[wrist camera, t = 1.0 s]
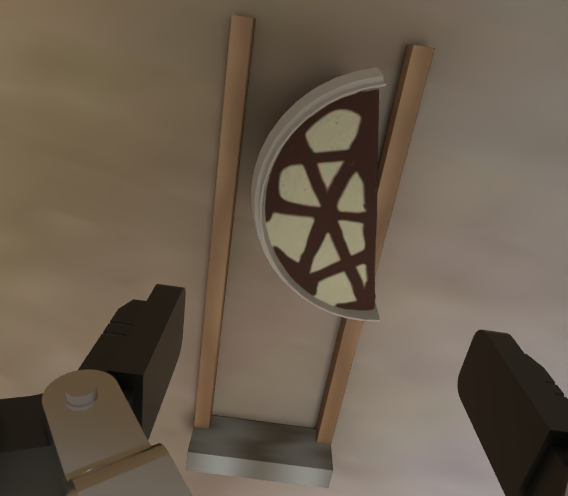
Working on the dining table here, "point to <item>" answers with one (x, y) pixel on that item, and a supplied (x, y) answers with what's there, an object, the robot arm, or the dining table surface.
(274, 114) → the dining table surface
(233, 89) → the guide channel
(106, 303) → the dining table surface
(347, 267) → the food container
